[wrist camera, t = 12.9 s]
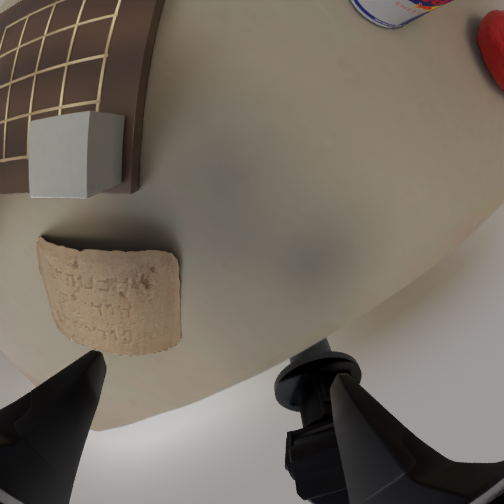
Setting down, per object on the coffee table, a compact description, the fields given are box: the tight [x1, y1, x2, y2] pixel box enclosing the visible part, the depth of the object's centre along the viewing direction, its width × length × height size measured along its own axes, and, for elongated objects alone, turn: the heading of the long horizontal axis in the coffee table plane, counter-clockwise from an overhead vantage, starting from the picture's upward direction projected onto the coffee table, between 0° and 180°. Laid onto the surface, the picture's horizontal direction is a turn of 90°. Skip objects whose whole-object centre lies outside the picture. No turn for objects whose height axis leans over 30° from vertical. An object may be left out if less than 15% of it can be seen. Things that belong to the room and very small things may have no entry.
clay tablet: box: [37, 236, 181, 356], centre depth 20 cm, size 14×10×3 cm
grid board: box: [0, 0, 164, 194], centre depth 13 cm, size 20×20×2 cm
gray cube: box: [29, 111, 125, 198], centre depth 13 cm, size 5×5×5 cm
